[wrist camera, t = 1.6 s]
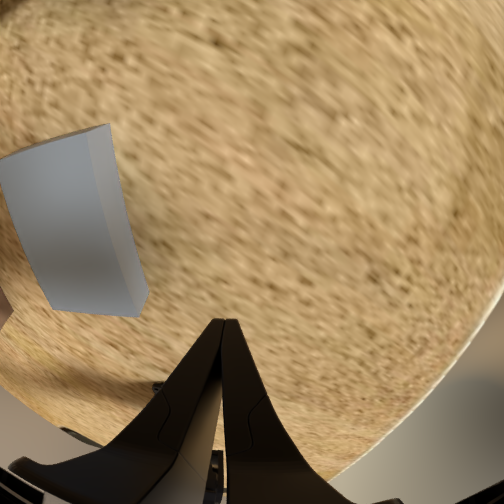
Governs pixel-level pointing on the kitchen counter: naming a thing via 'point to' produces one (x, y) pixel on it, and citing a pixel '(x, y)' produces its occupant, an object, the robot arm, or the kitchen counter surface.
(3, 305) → the walnut bar
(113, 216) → the slate plate
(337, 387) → the kitchen counter surface
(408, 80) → the kitchen counter surface
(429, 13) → the kitchen counter surface
